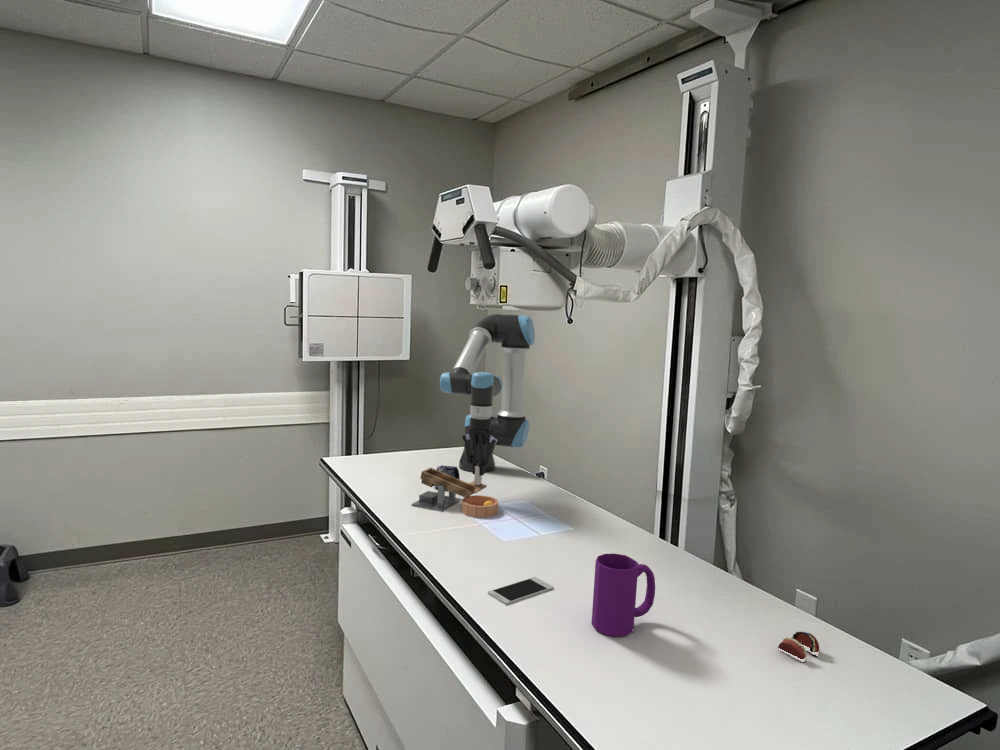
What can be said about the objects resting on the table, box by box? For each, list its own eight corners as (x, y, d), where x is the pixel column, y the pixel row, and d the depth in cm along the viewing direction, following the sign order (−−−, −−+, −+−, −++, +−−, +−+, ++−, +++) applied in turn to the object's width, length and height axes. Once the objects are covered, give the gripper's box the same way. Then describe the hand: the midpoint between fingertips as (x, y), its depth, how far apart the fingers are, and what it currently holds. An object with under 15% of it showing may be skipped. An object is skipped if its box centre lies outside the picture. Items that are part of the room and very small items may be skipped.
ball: (484, 507, 211) (487, 497, 210) (494, 511, 210) (496, 501, 209) (480, 510, 208) (482, 500, 207) (489, 514, 206) (492, 504, 206)
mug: (582, 621, 139) (587, 556, 138) (637, 608, 147) (642, 546, 145) (608, 641, 131) (613, 573, 130) (665, 627, 138) (670, 561, 137)
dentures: (777, 633, 130) (798, 624, 135) (774, 652, 131) (796, 642, 135) (802, 647, 126) (824, 637, 130) (799, 666, 126) (821, 656, 131)
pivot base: (411, 505, 212) (412, 483, 211) (432, 495, 225) (433, 473, 224) (441, 511, 208) (442, 488, 207) (461, 500, 220) (461, 478, 220)
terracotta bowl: (471, 503, 218) (471, 493, 217) (503, 509, 213) (503, 499, 213) (455, 513, 207) (455, 502, 206) (488, 519, 202) (488, 509, 202)
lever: (418, 483, 215) (421, 471, 214) (440, 472, 229) (443, 462, 228) (465, 503, 208) (468, 491, 207) (485, 491, 222) (488, 480, 221)
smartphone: (554, 590, 155) (554, 586, 155) (505, 606, 145) (506, 602, 145) (534, 579, 160) (534, 576, 160) (486, 595, 151) (487, 591, 151)
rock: (461, 485, 230) (451, 460, 231) (436, 496, 231) (425, 471, 232) (467, 483, 241) (456, 459, 242) (442, 494, 241) (432, 470, 243)
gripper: (459, 416, 217) (456, 483, 219) (493, 421, 211) (490, 489, 214) (468, 413, 223) (466, 478, 226) (502, 417, 218) (499, 484, 221)
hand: (477, 483), depth 220 cm, fingers closed
